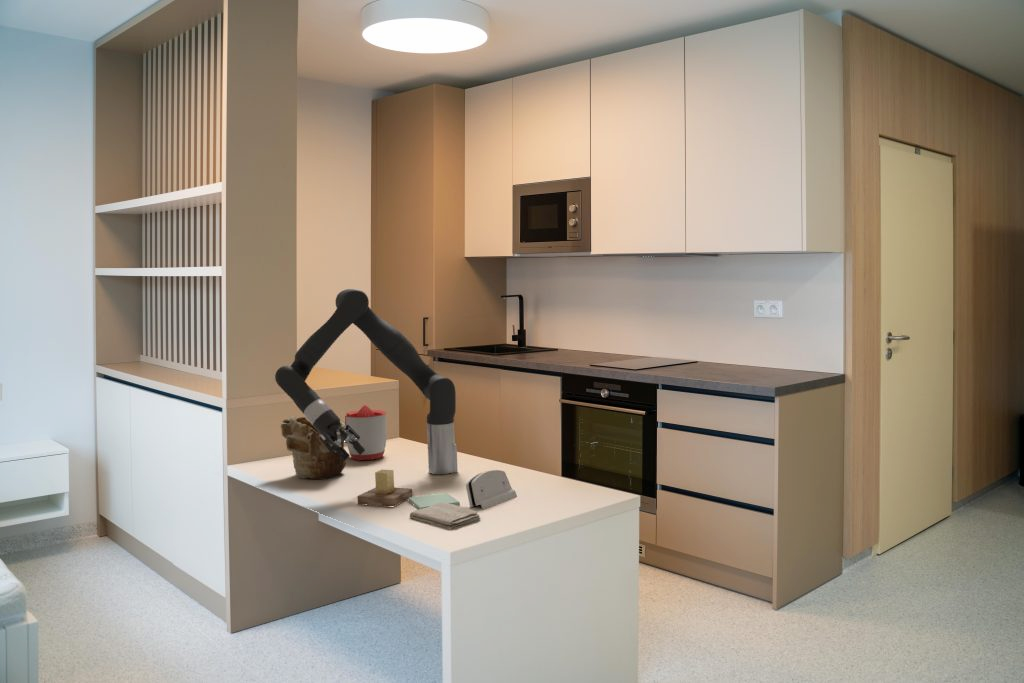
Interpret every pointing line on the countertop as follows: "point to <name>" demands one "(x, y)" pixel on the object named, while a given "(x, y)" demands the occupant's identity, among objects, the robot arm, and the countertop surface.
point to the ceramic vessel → (310, 450)
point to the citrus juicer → (368, 432)
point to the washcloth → (446, 515)
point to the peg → (384, 482)
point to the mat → (432, 500)
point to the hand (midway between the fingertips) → (355, 455)
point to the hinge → (489, 489)
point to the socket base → (385, 497)
